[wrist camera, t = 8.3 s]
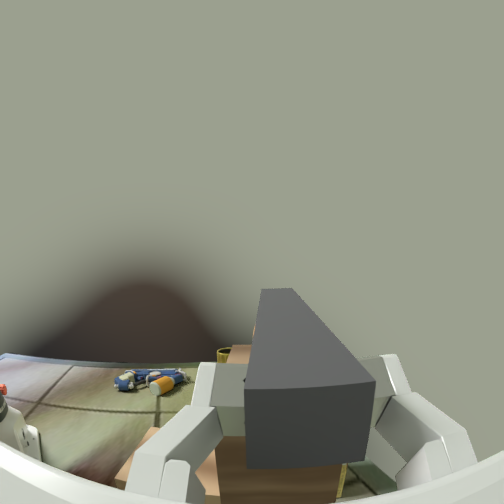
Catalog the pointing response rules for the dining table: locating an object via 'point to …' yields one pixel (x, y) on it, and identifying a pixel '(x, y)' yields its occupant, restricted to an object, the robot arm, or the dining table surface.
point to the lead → (303, 390)
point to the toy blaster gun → (150, 379)
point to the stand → (253, 471)
